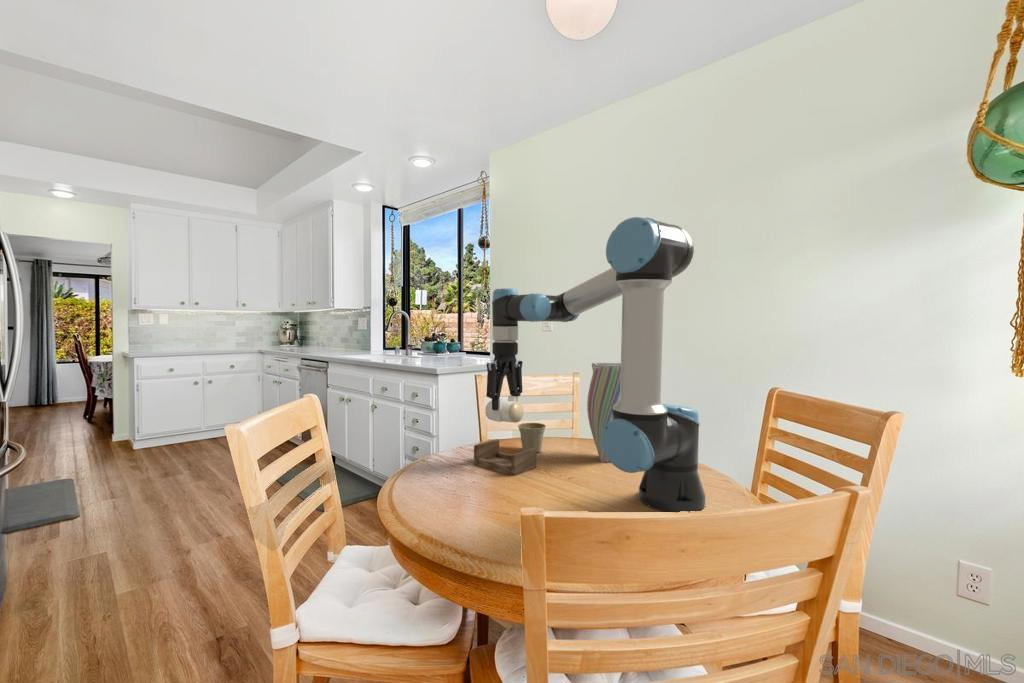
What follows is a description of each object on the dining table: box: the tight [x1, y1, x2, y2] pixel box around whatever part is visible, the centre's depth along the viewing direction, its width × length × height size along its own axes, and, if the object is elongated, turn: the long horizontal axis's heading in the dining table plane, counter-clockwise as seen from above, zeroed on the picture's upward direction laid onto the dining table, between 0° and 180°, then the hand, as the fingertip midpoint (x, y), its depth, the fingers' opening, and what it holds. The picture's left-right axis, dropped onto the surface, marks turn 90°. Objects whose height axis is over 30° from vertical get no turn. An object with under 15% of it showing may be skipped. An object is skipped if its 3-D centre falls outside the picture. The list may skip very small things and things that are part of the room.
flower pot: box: [517, 422, 547, 453], centre depth 154 cm, size 9×9×9 cm
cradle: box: [473, 438, 538, 477], centre depth 138 cm, size 16×10×6 cm, turn 49°
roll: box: [485, 400, 524, 424], centre depth 137 cm, size 10×6×6 cm, turn 47°
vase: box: [586, 362, 621, 463], centre depth 144 cm, size 14×14×30 cm
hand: (504, 419), depth 137 cm, fingers closed on roll, 6 cm apart
